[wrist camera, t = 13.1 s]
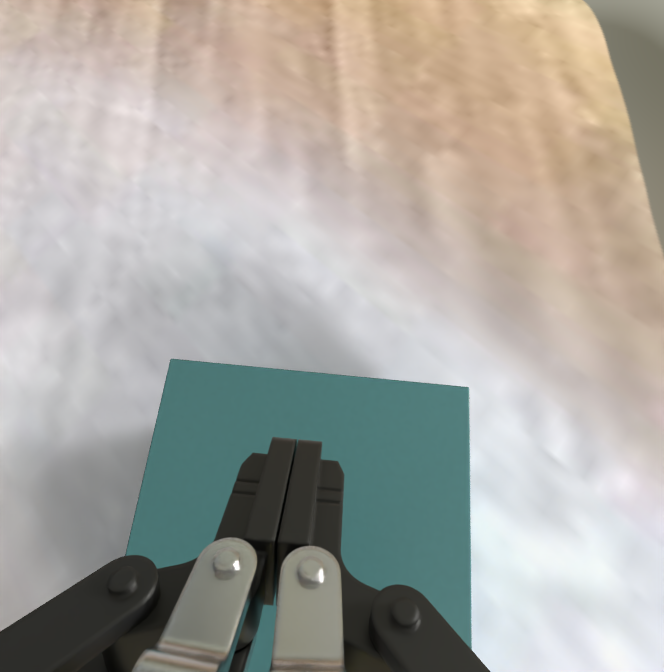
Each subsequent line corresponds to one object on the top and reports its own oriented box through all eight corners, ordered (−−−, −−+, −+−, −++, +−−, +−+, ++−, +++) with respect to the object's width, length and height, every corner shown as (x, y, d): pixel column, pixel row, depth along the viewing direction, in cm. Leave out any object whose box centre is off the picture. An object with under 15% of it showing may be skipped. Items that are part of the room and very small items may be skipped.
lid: (175, 362, 22) (170, 358, 21) (464, 390, 22) (469, 386, 21) (74, 809, 16) (62, 825, 15) (466, 858, 16) (474, 877, 15)
